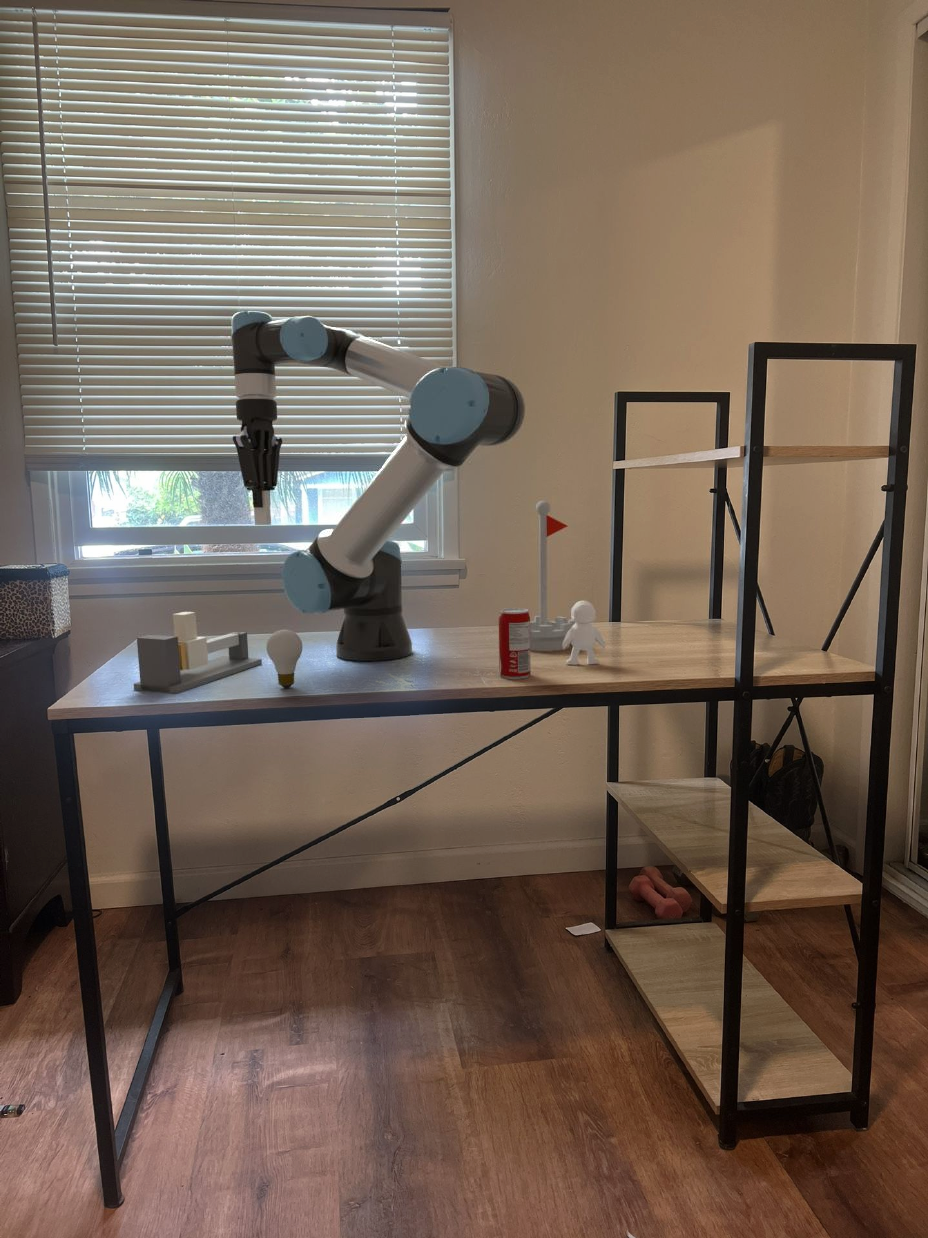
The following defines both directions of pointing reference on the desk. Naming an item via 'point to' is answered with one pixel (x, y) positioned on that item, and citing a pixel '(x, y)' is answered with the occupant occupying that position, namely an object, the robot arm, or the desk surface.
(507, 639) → the soda can
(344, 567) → the robot arm
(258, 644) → the desk surface
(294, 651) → the light bulb
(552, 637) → the flag stand
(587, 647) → the figurine
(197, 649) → the sleeve
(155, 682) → the rail
